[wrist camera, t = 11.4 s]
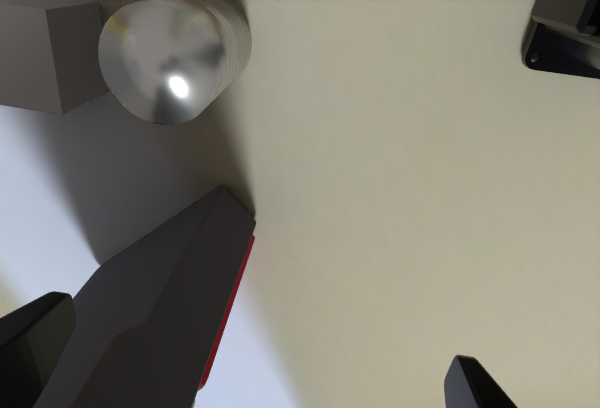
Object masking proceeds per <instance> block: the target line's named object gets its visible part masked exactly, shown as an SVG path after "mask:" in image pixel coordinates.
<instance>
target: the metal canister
mask: <svg viewBox="0 0 600 408" xmlns="http://www.w3.org/2000/svg"><path fill="white" fill-rule="evenodd" d="M251 47H252V39H251V33H250V29H249V26H248V23H247V21H246V19H245V17H244V15H243V14H242V12H241V11H240V10H239V8H238V7H237V6H236V5H235V4H234V3H233V2H231V1H230V0H145V1H139V2H135V3H131V4H128V5H126V6H123V7H122V8H120V9H119V10H117V11H116V12H115V13H114V14H113V15H112V16H111V17H110V18H109V19H108V21H107V22H106V24H105V25H104V27H103V29H102V32H101V35H100V39H99V46H98V57H99V64H100V69H101V72H102V75H103V78H104V80H105V82H106V84H107V86H108V88H109V90H110V91H111V93H112V94H113V95H114V97H115V98H116V99H117V100H118V101H119V103H120V104H121V105H122V106H124V107H125V108H126V109H127V110H128V111H130V112H131V113H132V114H134V115H135V116H137V117H139V118H141V119H143V120H145V121H148V122H151V123H154V124H159V125H177V124H182V123H185V122H188V121H190V120H192V119H194V118H195V117H196V116H198V115H199V114H200V113H201V112H202V111H203V110H204V109H205V108H206V107H207V106H208V105H209V104H210V103H211V102H212V101H213V100H214V99H215V98H216V97H217V96H218V95H219V94H220V93H221V92H222V91H223V90H224V89H225V88H226V87H227V86H228V85H229V84H230V83H231V82H232V81H233V80H234V79H235V78H236V77H237V76H238V75H239V74H240V73H241V72H242V71H243V69H244V68H245V66H246V65H247V63H248V60H249V58H250V54H251Z"/></svg>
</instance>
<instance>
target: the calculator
mask: <svg viewBox="0 0 600 408" xmlns="http://www.w3.org/2000/svg"><path fill="white" fill-rule="evenodd" d="M255 225H256V221H255V220H254V219H253V217H252V216H251V215H250V214H249V213H248V212H247V211H246V209H245V208H244V207H243V206H242V205H241V204H240V203H239V201H238V200H237V199H236V198H235V197H234V196H233V195H232V194H231V192H230V191H229V190H228V189H227V188H226V187H225V186H224V185H220V186H218V187H217V188H215V189H214V190H212V191H211V192H209V193H208V194H206V195H205V196H203V197H202V198H200V199H199V200H198V201H196V202H195V203H193V204H192V205H190V206H189V207H187V208H186V209H184V210H183V211H181V212H180V213H178V214H177V215H175V216H174V217H172V218H171V219H169V220H168V221H167V222H165V223H164V224H162V225H161V226H159V227H158V228H156V229H155V230H153V231H152V232H150V233H149V234H147V235H146V236H144V237H143V238H141V239H140V240H138V241H137V242H136V243H134V244H133V245H131V246H130V247H128V248H127V249H125V250H124V251H122V252H121V253H119V254H118V255H116V256H115V257H113V258H112V259H110V260H109V261H107V262H106V263H105V264H103V265H102V266H100V267H99V268H98V269H97V270H96V271H95V273H94V274H93V275H92V276H91V277H90V279H89V280H88V281H87V282H86V283H85V285H84V286H83V287H82V288H81V290H80V291H79V292H78V293H77V294H76V296H75V297H74V298H73V304H74V309H75V313H76V319H77V320H76V326H75V329H74V331H73V333H72V335H71V337H70V339H69V341H68V343H67V345H66V347H65V349H64V351H63V353H62V355H61V357H60V359H59V361H58V363H57V365H56V367H55V369H54V371H53V373H52V375H51V377H50V379H49V381H48V383H47V384H46V386H45V388H44V390H43V392H42V393H41V395H40V397H39V398H38V400H37V402H36V403H35V405H34V406H33V408H193V407H194V404H195V397H196V394H197V391H198V390H200V389H202V388H203V387H204V385H205V384H206V381H207V379H208V376H209V374H210V371H211V368H212V365H213V362H214V359H215V356H216V353H217V350H218V347H219V344H220V341H221V338H222V335H223V332H224V329H225V326H226V323H227V320H228V317H229V314H230V311H231V308H232V305H233V302H234V299H235V296H236V293H237V290H238V287H239V284H240V281H241V278H242V275H243V272H244V270H245V267H246V264H247V261H248V258H249V255H250V252H251V249H252V246H253V243H254V239H255V236H254V235H253V231H254V228H255Z"/></svg>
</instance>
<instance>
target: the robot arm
mask: <svg viewBox="0 0 600 408" xmlns="http://www.w3.org/2000/svg"><path fill="white" fill-rule="evenodd" d="M531 15H532V17H533V20H534V24H533V26H532V29H531V32H530V34H529V37H528V40H527V43H526V45H525V48H524V51H523V53H522V63H523V64H524V65H525V66H526V67H528V68H530V69H532V70H539V71H546V72H553V73H560V74H568V75H575V76H582V77H589V78H597V79H600V0H536V1H535V4H534V7H533V10H532V13H531ZM537 51H539V52H540V57H539V59H538V60H537V61H535V62H532V61H531V57H532V55H533V54H534V53H535V52H537ZM76 320H77V319H76V313H75V309H74V304H73V299H72V296H71V295H70V294H68V293H62V292H55V291H54V292H49V293H47V294H45V295H43V296H41V297H40V298H38V299H36V300H34V301H32V302H30V303H28V304H26V305H24V306H22V307H20V308H19V309H17V310H15V311H13V312H11V313H9V314H7V315H5V316H3V317H1V318H0V408H33V406H34V405H35V403H36V402H37V400H38V398H39V397H40V395H41V393H42V392H43V390H44V388H45V386H46V384H47V383H48V381H49V379H50V377H51V375H52V373H53V371H54V369H55V367H56V365H57V363H58V361H59V359H60V357H61V355H62V353H63V351H64V349H65V347H66V345H67V343H68V341H69V339H70V337H71V335H72V333H73V331H74V329H75V326H76ZM444 391H445V403H446V408H518V407H517V406H516V405H515V404H514V403H513V401H512V400H511V399H510V398H509V397H508V396H507V394H506V393H505V392H504V391H503V390H502V389H501V387H500V386H499V385H498V384H497V383H496V381H495V380H494V379H493V378H492V377H491V376H490V374H489V373H488V372H487V371H486V370H485V369H484V367H483V366H482V365H481V364H480V363H479V361H478V360H477V359H475V358H474V357H470V356H464V355H456V356H455V357H454V359H453V361H452V363H451V366H450V368H449V370H448V372H447V375H446V377H445V381H444Z"/></svg>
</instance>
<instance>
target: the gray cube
mask: <svg viewBox="0 0 600 408" xmlns="http://www.w3.org/2000/svg"><path fill="white" fill-rule="evenodd" d="M101 32H102V19H101V9H100V2H97V1H90V0H0V105H5V106H12V107H18V108H24V109H31V110H37V111H43V112H50V113H56V114H64V113H66V112H68V111H70V110H72V109H74V108H76V107H78V106H80V105H82V104H84V103H85V102H87V101H89V100H91V99H93V98H95V97H97V96H99V95H101V94H103V93H105V92H107V91H109V88H108V86H107V84H106V82H105V80H104V78H103V75H102V72H101V69H100V64H99V57H98V46H99V39H100V35H101Z"/></svg>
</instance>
